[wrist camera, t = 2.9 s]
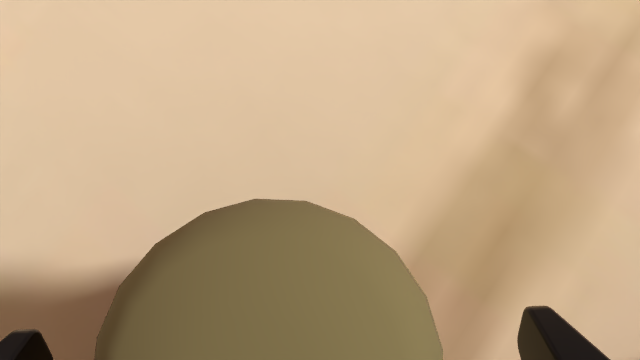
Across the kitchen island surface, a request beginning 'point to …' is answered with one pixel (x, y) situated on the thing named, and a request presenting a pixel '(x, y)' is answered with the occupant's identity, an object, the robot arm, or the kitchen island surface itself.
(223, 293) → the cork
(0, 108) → the kitchen island surface
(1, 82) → the kitchen island surface
